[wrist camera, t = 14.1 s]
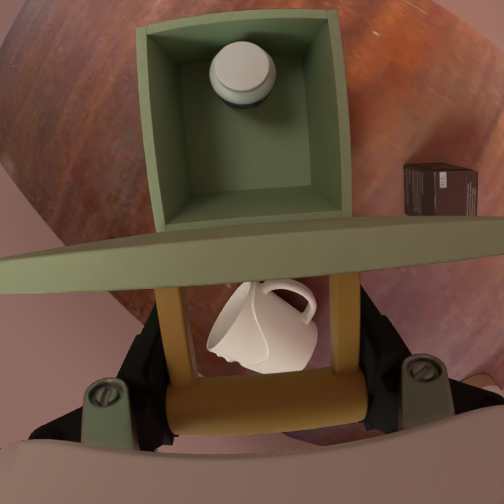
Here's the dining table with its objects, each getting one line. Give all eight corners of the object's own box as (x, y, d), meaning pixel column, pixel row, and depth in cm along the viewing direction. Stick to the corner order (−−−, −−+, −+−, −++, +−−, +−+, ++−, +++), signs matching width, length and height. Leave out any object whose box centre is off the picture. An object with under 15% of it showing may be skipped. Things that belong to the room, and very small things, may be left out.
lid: (-29, 263, 6) (31, 454, 6) (537, 217, 5) (507, 419, 6) (154, 232, 22) (164, 312, 22) (353, 216, 22) (357, 296, 22)
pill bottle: (268, 112, 30) (277, 103, 21) (215, 109, 30) (201, 98, 21) (272, 63, 28) (282, 35, 19) (219, 60, 28) (207, 31, 19)
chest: (173, 61, 28) (135, 27, 17) (307, 50, 28) (337, 10, 17) (187, 201, 34) (156, 236, 22) (317, 190, 34) (352, 220, 22)
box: (442, 210, 34) (476, 227, 27) (402, 213, 34) (434, 232, 28) (443, 161, 32) (479, 170, 25) (402, 162, 32) (435, 171, 25)
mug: (271, 355, 41) (275, 397, 34) (210, 325, 39) (202, 365, 32) (327, 289, 38) (344, 325, 30) (262, 249, 36) (267, 280, 28)
